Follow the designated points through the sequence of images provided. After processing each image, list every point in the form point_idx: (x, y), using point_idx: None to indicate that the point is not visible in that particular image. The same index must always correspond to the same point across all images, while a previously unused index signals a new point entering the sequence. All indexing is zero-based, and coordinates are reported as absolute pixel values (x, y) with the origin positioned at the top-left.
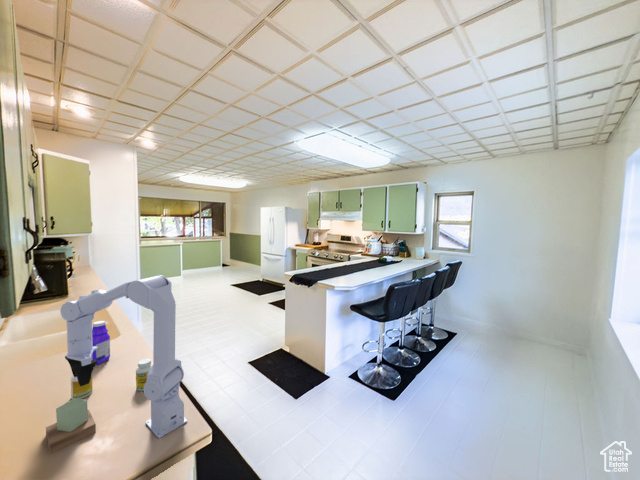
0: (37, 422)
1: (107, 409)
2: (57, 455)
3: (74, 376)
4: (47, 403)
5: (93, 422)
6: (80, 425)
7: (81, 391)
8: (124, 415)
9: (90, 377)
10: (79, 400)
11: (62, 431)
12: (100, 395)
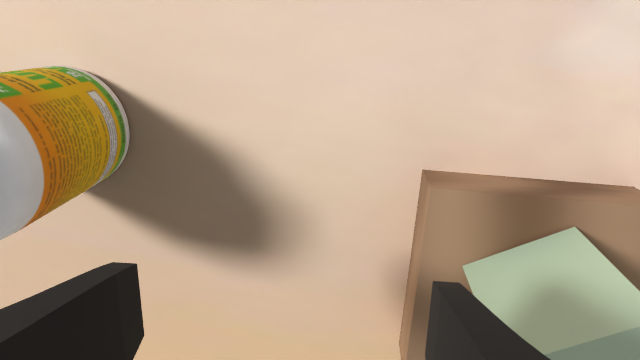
0: (220, 343)
1: (435, 65)
2: None
3: (139, 341)
4: (34, 277)
5: (636, 211)
6: None
7: (103, 155)
8: (636, 8)
9: (495, 316)
10: (601, 356)
11: None
12: (185, 43)
